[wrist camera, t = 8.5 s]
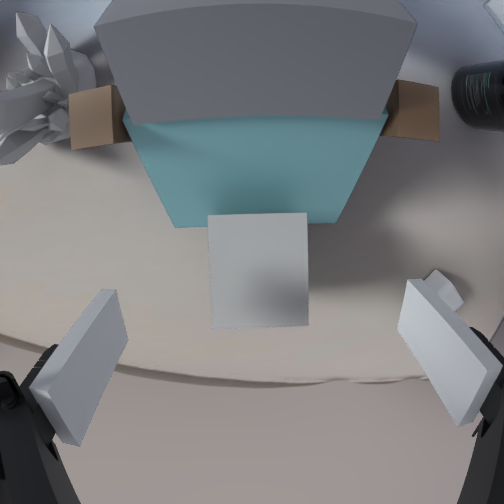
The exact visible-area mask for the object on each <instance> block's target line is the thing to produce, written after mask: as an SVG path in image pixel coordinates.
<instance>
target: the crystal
mask: <svg viewBox="0 0 504 504" xmlns="http://www.w3.org/2000/svg"><path fill="white" fill-rule="evenodd" d="M16 31H17V37H18V38H19V40H20V41H21V42H22V43H23V44H24V45H25V47H26V48H27V49H28V50H29V52H30V53H31V54H26V55H27V61H28V67H26V68H24V69H23V70H22V71H23V73H20V72H16V71H12V72H9V73H7V75H8V76H9V77H6V87H7V90H6V91H0V165H7V164H14V163H15V162H16V161H18V160H19V159H20V158H21V157H23V156H24V155H25V154H27V153H28V152H29V151H30V150H31V149H32V148H33V147H34V146H35V145H36V144H37V143H38V142H40V143H42V144H44V145H47V144H51V143H54V142H57V141H60V140H64V139H67V138H70V122H69V94H73V93H77V92H81V91H85V90H89V89H93V88H96V87H97V84H96V78H95V71H94V67H93V66H92V64H91V62H90V61H89V59H88V58H87V56H86V55H85V54H82V53H79V52H76V51H73V50H71V48H70V43H69V42H68V41H67V40H66V39H65V38H64V37H63V36H62V35H61V34H60V33H59V32H58V30H57V29H56V28H55V27H54V26H53V25H52V24H50V26H49V31H48V33H47V32H46V30H45V28H44V26H43V25H42V23H41V21H40V20H39V18H38V16H36V15H31V14H26V13H21V12H16Z"/></svg>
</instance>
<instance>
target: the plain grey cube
mask: <svg viewBox="0 0 504 504" xmlns="http://www.w3.org/2000/svg"><path fill="white" fill-rule="evenodd" d="M208 245H209V272H210V294H211V314H212V329H237V328H269V327H291V326H308V233H307V213H268V214H233V215H208Z"/></svg>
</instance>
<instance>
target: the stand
mask: <svg viewBox="0 0 504 504" xmlns="http://www.w3.org/2000/svg"><path fill="white" fill-rule="evenodd" d="M385 107H386V109H387V112H388V117H387V119H386V122H385V124H384V126H383V128H382V130H381V132H380V135H379V136H391V137H402V138H412V139H421V140H429V141H437V142H439V89H438V87H435V86H430V85H425V84H420V83H415V82H410V81H404V80H396V81H395V83H394V86H393V88H392V91H391V93H390V96H389V98H388V100H387V103H386V105H385ZM125 110H126V107H125V105H124V102H123V100H122V97H121V95H120V92H119V90H118V88H117V86H114V85H107V86H103V87H98V88H93V89H89V90H85V91H81V92H77V93H73V94H69V122H70V140H71V150H76V149H82V148H88V147H94V146H101V145H108V144H115V143H122V142H130V141H132V140H131V138H130V136H129V133H128V131H127V129H126V127H125V125H124V123H123V117H124V114H125Z"/></svg>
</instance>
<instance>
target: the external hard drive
mask: <svg viewBox="0 0 504 504" xmlns="http://www.w3.org/2000/svg"><path fill="white" fill-rule="evenodd" d="M483 6H484V7H485V8H486V9H487V11H488V12H489V13H490V15H491V16H492V17H493V19H494V20H495V21H496V23H497V24H498V25H499V27H500V28H501V29H502V31H503V32H504V0H488V1H487V2H486V3H485V4H484V5H483Z"/></svg>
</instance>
